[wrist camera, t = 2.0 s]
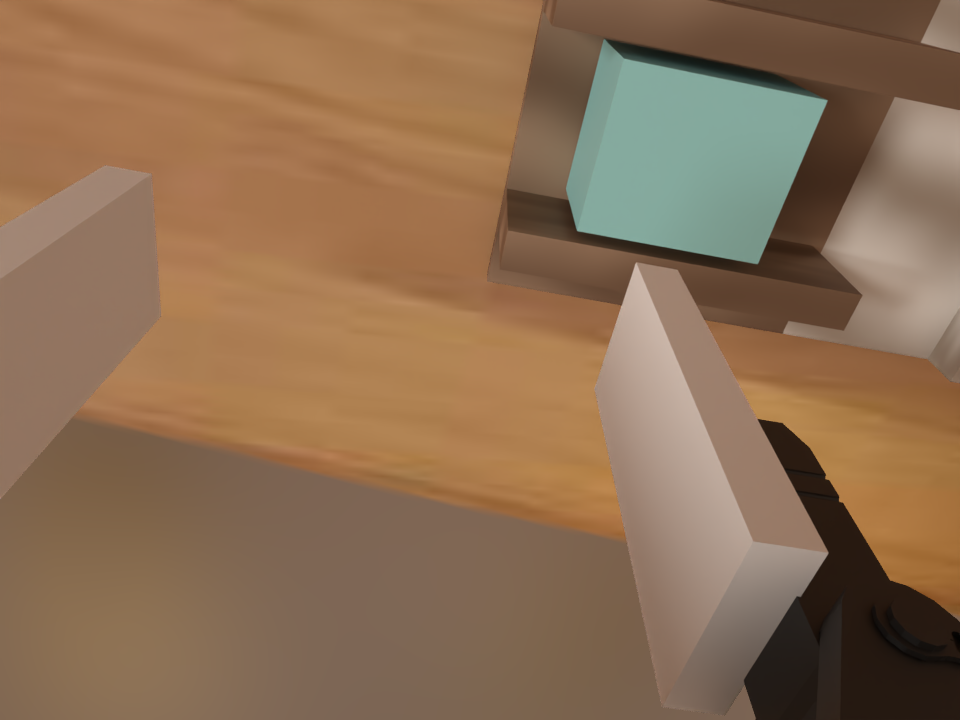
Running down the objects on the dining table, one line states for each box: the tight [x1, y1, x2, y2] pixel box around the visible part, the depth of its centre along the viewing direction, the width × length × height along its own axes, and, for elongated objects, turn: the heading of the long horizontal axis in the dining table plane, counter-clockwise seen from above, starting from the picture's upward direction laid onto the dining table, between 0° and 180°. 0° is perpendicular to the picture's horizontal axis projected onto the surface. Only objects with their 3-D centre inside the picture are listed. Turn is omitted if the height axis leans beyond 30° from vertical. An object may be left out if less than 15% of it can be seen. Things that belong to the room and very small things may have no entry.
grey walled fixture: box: [487, 0, 960, 383], centre depth 27 cm, size 16×23×6 cm
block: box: [566, 39, 828, 264], centre depth 26 cm, size 6×7×5 cm
